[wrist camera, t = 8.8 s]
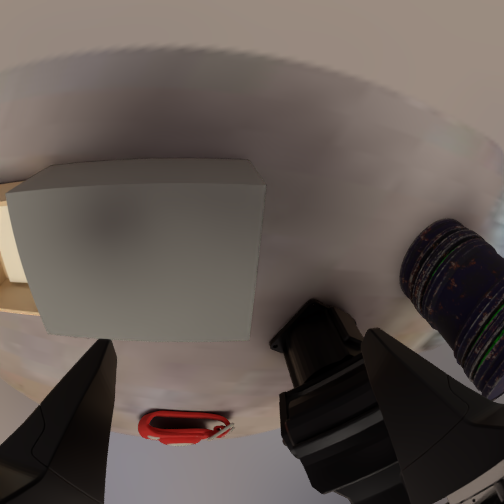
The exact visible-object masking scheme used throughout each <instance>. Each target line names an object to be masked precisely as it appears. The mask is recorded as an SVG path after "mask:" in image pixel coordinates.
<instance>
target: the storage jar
mask: <svg viewBox="0 0 504 504" xmlns="http://www.w3.org/2000/svg"><path fill="white" fill-rule="evenodd" d="M400 285H401V289H402V291H403V292H404V294H405V295H406V296H407V297H408V298H409V299H410V300H411V302H412V303H413V304H414V306H415V308H416V310H417V311H418V312H419V313H420V315H421V316H422V317H423V318H424V319H426V321H427V322H428V323H429V324H430V325H431V327H432V328H433V329H435V330H438V332H439V333H440V334H441V335H442V337H443V338H444V339H445V341H446V342H447V343H448V344H449V346H450V347H451V348H452V350H453V351H454V357H455V358H456V359H457V363H458V364H459V365H461V366H462V368H463V369H464V373H465V374H466V375H467V377H468V378H469V380H470V381H471V382H473V383H474V385H475V386H476V388H477V389H478V390H479V391H481V392H482V396H484V397H486V398H488V399H489V400H491V401H494V400H495V399H497V398H498V397H500V396H501V395H502V394H504V258H502V257H501V256H500V255H499V254H497V252H496V250H495V249H494V248H493V247H492V246H491V245H490V244H488V243H487V242H486V241H485V240H484V239H483V238H482V237H481V236H480V235H478V234H477V233H475V232H474V231H472V230H469V229H468V228H466V227H464V226H463V225H462V224H461V223H459V222H458V221H456V220H454V219H443V220H439V221H437V222H435V223H433V224H431V225H430V226H429V227H427V228H426V229H425V230H424V231H423V232H422V233H421V234H420V235H419V236H418V237H417V238H416V239H415V241H414V242H413V243H412V245H411V247H410V248H409V250H408V252H407V254H406V256H405V258H404V260H403V263H402V267H401V271H400Z"/></svg>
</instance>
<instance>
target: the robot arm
mask: <svg viewBox="0 0 504 504" xmlns="http://www.w3.org/2000/svg"><path fill="white" fill-rule="evenodd" d="M313 304H314V305H313ZM311 305H313V306H311ZM269 345H270V348H271V349H272V350H275V351H278V352H281V353H283V354H284V357H285V360H286V364H287V367H288V370H289V373H290V377H291V380H292V383H293V386H294V389H291V390H289V391H287V392H283V393H281V394H279V398H280V402H279V406H280V423H281V436H282V438H283V444H284V445H285V446H287V447H288V449H289V450H290V452H291V453H292V454H293V455H294V456H295V457H296V458H298V459H300V461H301V463H302V464H303V466H304V468H305V471H306V473H307V475H308V478H309V480H310V483H311V485H312V487H313V488H315V489H316V490H317V491H319V492H320V493H321V494H327V493H329V492H332V491H334V492H335V493H337V494H339V495H341V496H344V497H346V498H348V499H349V501H350V502H351V504H433V503H435V502H437V501H439V500H441V499H442V498H445V497H447V499H448V501H449V502H447V503H446V504H504V404H499V403H496V402H493V401H491V400H489V399H488V398H486V397H484V396H482V395H480V394H478V393H477V392H475V391H473V390H472V389H470V388H468V387H466V386H464V385H463V384H461V383H460V382H458V381H457V380H455V379H454V378H452V377H451V376H449V375H447V374H446V373H445V372H443V371H442V370H440V369H439V368H438V367H436V366H434V365H433V364H432V363H430V362H429V361H427V360H426V359H424V358H423V357H421V356H420V355H418V354H417V353H415V352H414V351H412V350H411V349H409V348H408V347H406V346H405V345H403V344H402V343H401V342H399V341H398V340H396V339H395V338H393V337H392V336H390V335H389V334H387V333H386V332H384V331H383V330H381V329H380V328H371V329H368V330H367V332H366V334H365V337H364V338H363V336H362V335H361V333H360V331H359V330H358V328H357V326H356V321H355V320H354V319H353V318H351V316H350V315H349V314H347V313H345V312H344V311H342V310H340V309H338V308H336V307H334V306H331V307H329V306H327V305H325V304H323V303H321V302H319V301H317V300H314V299H312V300H310V301H308V302H307V303H306V305H305V306H304V307H303V308H302V309H301V310H300V311H299V312H298V313H297V314H296V315H295V317H294V318H293V319H292V320H291V321H290V322H289V323H288V324H287V325H286V326H285V327H284V328H283V329H282V330H281V332H280V333H279V334H278V335H277V336H276V337H275V338H274V339H273V340H272V341H271V342H270V344H269ZM116 368H117V356H116V353H115V350H114V346H113V343H112V341H111V340H110V339H102V338H100V339H98V340H97V341H96V342H95V343H94V344H93V345H92V347H91V348H90V349H89V350H88V351H87V352H86V353H85V354H84V355H83V356H82V357H81V358H80V359H79V361H78V362H77V363H76V364H75V365H74V366H73V367H72V368H71V369H70V370H69V372H68V373H67V374H66V375H65V376H64V377H63V378H62V379H61V380H60V382H59V383H58V384H57V385H56V386H55V387H54V388H53V390H52V391H51V392H50V393H49V394H48V395H47V396H46V398H45V399H44V400H43V401H42V402H41V403H40V405H39V406H38V407H37V408H36V409H35V410H34V412H33V413H32V414H31V415H30V416H29V417H28V418H27V419H26V420H25V422H24V423H23V424H22V425H21V426H20V427H19V428H18V429H17V430H16V431H15V432H14V433H13V434H12V435H10V436H9V437H8V438H7V439H6V440H5V441H4V442H3V443H2V444H1V445H0V504H104V493H105V478H106V465H107V455H108V454H107V453H108V446H109V437H110V430H111V422H112V415H113V409H114V401H115V384H116Z"/></svg>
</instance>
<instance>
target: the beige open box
mask: <svg viewBox="0 0 504 504" xmlns="http://www.w3.org/2000/svg"><path fill="white" fill-rule="evenodd" d="M22 182H24V181H21V182H14V183H6V184H0V311H3V312H11V313H19V314H28V315H37V316H40V314H39V312H38V309H37V307H36V304H35V302H34V299H33V296H32V294H31V291H30V288H29V285H28V282H27V279H26V276H25V273H24V270H23V267H22V263H21V260H20V257H19V253H18V249H17V246H16V242H15V238H14V234H13V230H12V226H11V221H10V216H9V212H8V206H7V201H6V195H5V193H7V192H8V191H10V190H11V189H13V188H14V187H16V186H17V185H19V184H21V183H22Z"/></svg>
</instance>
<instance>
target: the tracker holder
mask: <svg viewBox="0 0 504 504" xmlns="http://www.w3.org/2000/svg"><path fill="white" fill-rule="evenodd" d="M155 416H157V417H173V418H198V419H213V420H219V421H221V422H223V423H224V424H225V425H226V426H223V425H220V426H215V427H214V431H213V430H209V429H159V428H156V427H152V426H151V425H149V423H150V421H151V419H152V418H153V417H155ZM232 426H234V423H231V424H230V422H229V421H228V420H227V419H226V418H225V417H223V416H220V415H215V414H209V413H200V412H177V411H156V412H152V413H149V414H146V415H144V416H143V417H142V418H141V420H140V421H139V424H138V431H139V433H140V435H141V436H142V437H143V438H146V439H152V440H159V441H160V442H161V443H163V444H166V445H173V446H186V445H192V444H196V443H198V442H200V440H201V439H206V438H208V437H210V438H208V439H207V440H208V441H211V440H213V439H214V438H220V437H224V436H226V435H227V434H229V433H230V432H232V431H233V430H234V429H235V427H232ZM231 427H232V428H231ZM220 428H221V430H220ZM230 428H231V429H230Z"/></svg>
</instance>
